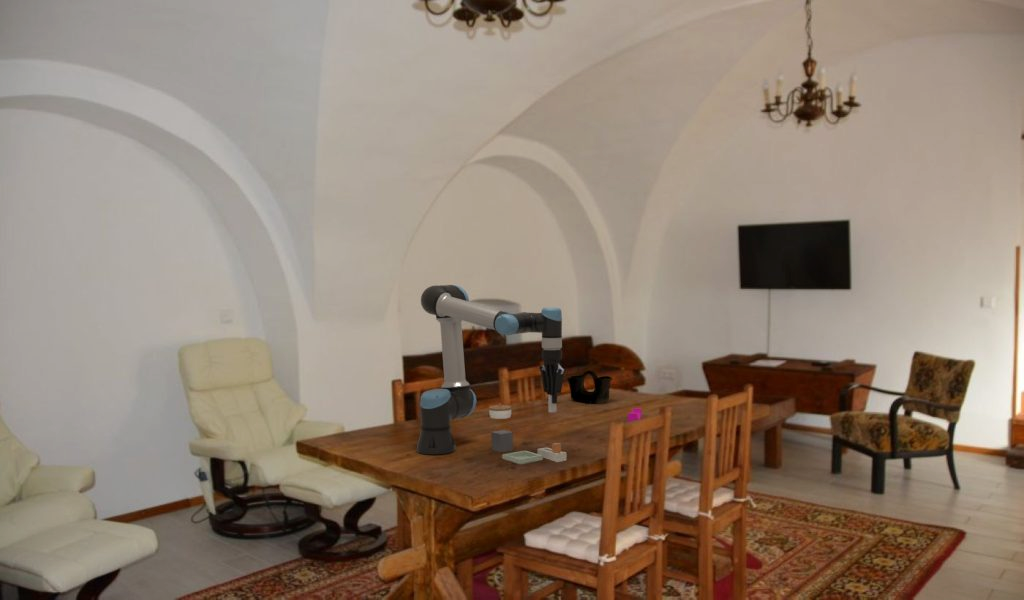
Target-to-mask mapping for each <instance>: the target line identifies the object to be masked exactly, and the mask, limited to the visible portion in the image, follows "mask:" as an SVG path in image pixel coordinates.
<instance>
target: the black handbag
mask: <svg viewBox="0 0 1024 600" xmlns="http://www.w3.org/2000/svg"><path fill="white" fill-rule="evenodd" d="M588 374H589V375H590V376H591V377H592V380H593V384H594V390H593V391H589V390H587V389H586V388H585V378H586V377H587V376H588ZM566 380H567V382H568V386H569V391H570V398H571V399H572V400H573V401H574V402H576V403H580V404H585V405H604V404H605V403H607V402H608V400H609V399H610V389H611V383H612V381H613V377H611V376H608V375H605V376H603V375H602V376H598V375H597V373H596V372H594V371H592V370H587V371H585V372H584V373H583V374H580V375H572V376H570V377H567V378H566Z"/></svg>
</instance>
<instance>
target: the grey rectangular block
mask: <svg viewBox="0 0 1024 600" xmlns="http://www.w3.org/2000/svg"><path fill="white" fill-rule="evenodd" d="M490 432H491V434H490V435H491V436H490V437H491V451H494V452H497V453H499V452H500V454H502V453H507V452H508V453H509V452H512V451H514V436H513V435H514V433H513V432H512V431H508V430H506V429H501V430H495V431H490ZM501 452H502V453H501Z"/></svg>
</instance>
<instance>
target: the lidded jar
mask: <svg viewBox="0 0 1024 600" xmlns="http://www.w3.org/2000/svg"><path fill="white" fill-rule="evenodd" d="M488 411H489V413H488V414H489V418H491V419H496V420H504V419H506V420H507V419H509V418H511V417H512V406H511V405H508V404H507V405H506V404H502V403H501V402H499V403H498V404H495V405H490V406H489V407H488Z"/></svg>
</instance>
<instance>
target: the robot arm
mask: <svg viewBox="0 0 1024 600" xmlns="http://www.w3.org/2000/svg"><path fill="white" fill-rule="evenodd" d="M420 305H421V306H422V309H423V310H424V311H425V312H426V313H428V314H430V315H434V316H435V320H436V321H437V322H438V323H440V337H441V350H442V365H443V377H444V382H443V383H442V385H441V386H440V387H441V388H435V389H429V390H426V391H424V392H422V393H421V395H420V403H419V405H420V434H419V438H418V441H417V444H416V452H417V453H418V454H421V455H422V454H423V455H444V454H445V455H446V454H450V453H453V452H455V451H456V449H457V447H456V441H455V439H454V436H453V433H452V421H454V420H457V419H464V418H466V417H468V416H470V415H472V413H473V412H474V411H475V409H476V407H477V396H476V394H475V392H474V391H473V390H472V389H471V386H470V383H469V381H468V380H467V379H466V370H465V367H466V366H465V354H464V342H463V341H464V338H463V327H462V324H463V323H462V321H463V322H467V323H469V324H470V323H471V324H473V325H477V326H481V327H484V328H486V329H487V328H488V329H490V330H494V331H496V332H497V333H499V335H503V336H512V335H519V334H527V333H528V334H529V333H539V334H541V348H542V350H541V359H542V360H544V361H543V365H542V366H539V367H538V368H539V371H540V376H541V381H542V389H543V392H544V393H546V394H547V404H548V405H547V406H548V407H547V408H548V410H547V411H548V413H557V411H558V409H557V407H558V406H557V403H558V395H559V394H561V393H562V389H563V388H562V387H563V384H564V383H563V382H564V375H565V373H566V368H563V367H562V364H561V360H562V359H563V350H562V348H563V342H562V341H563V335H562V334H563V333H562V332H563V328H562V327H563V317H562V316H563V313H562V309H561V308H560V307H542V308H541V312H527V311H522V312H521V311H520V312H516V313H511V312H510V313H509V312H507V311H503V310H501V309H497V308H492V307H488V306H485V305H481V304H480V303H479V304H478V303H475V302H471V301H470V298H469V295H468V293H467V291H466V289H464V288H463V287H461V286H459V285H454V284H445V285H442V284H441V285H437V284H436V285H431V286H428V287H427V288H426V289H425V290H423V292H422V294H421V296H420Z"/></svg>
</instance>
